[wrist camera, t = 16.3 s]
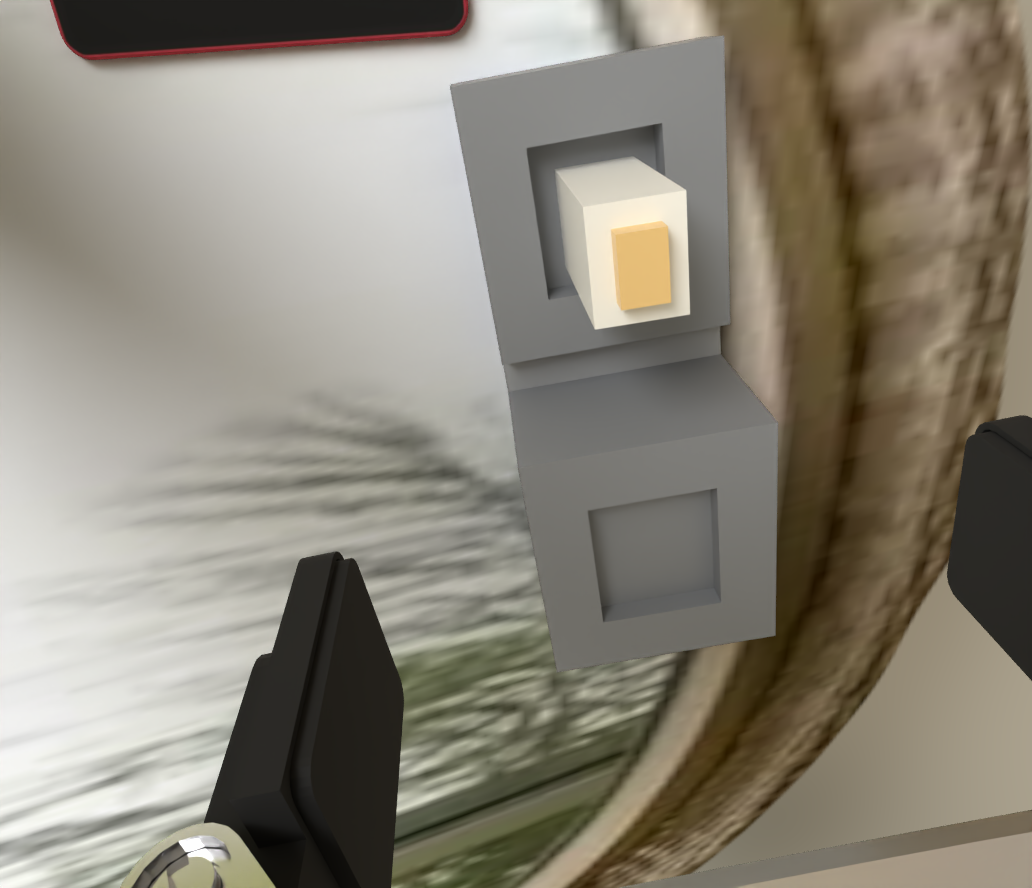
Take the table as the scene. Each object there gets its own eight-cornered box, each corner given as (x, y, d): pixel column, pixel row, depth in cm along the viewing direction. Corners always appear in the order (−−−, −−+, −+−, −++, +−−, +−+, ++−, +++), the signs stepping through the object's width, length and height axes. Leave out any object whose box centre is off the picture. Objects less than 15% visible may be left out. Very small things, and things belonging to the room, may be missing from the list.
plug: (554, 169, 29) (586, 211, 22) (632, 156, 29) (693, 194, 21) (565, 266, 31) (598, 338, 23) (639, 254, 31) (696, 322, 23)
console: (451, 84, 28) (446, 95, 21) (703, 36, 28) (783, 32, 21) (540, 562, 40) (557, 672, 33) (720, 532, 40) (775, 635, 33)
